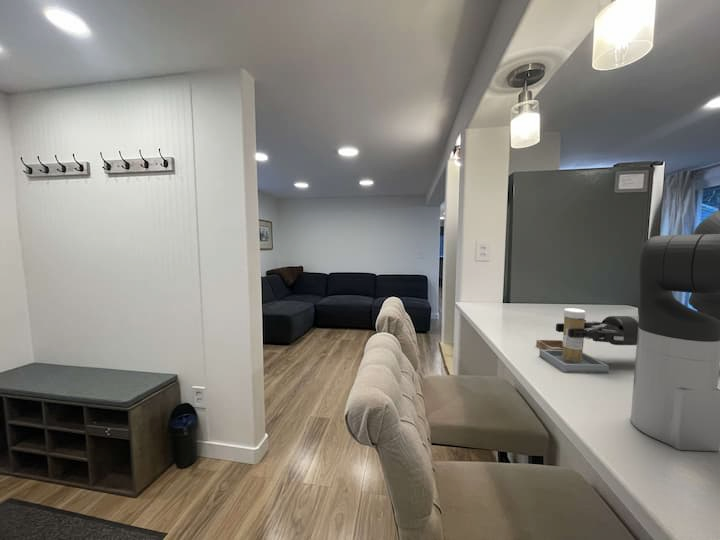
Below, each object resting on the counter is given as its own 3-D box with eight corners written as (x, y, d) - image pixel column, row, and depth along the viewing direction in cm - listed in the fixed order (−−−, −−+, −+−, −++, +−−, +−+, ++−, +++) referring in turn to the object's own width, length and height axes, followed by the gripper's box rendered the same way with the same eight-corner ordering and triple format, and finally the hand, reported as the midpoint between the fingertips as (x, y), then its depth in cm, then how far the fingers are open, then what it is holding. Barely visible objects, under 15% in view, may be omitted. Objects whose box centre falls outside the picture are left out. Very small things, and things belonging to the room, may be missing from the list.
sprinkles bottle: (564, 354, 79) (566, 306, 78) (585, 359, 75) (587, 309, 74) (559, 358, 76) (561, 309, 75) (580, 364, 72) (582, 312, 71)
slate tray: (608, 373, 70) (608, 365, 70) (564, 372, 71) (564, 364, 70) (577, 356, 81) (578, 350, 80) (539, 356, 81) (539, 349, 81)
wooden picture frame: (579, 355, 81) (579, 349, 81) (551, 355, 82) (552, 348, 82) (561, 346, 89) (561, 340, 89) (536, 346, 90) (536, 339, 89)
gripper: (608, 310, 81) (546, 310, 82) (658, 323, 67) (583, 323, 68) (606, 336, 82) (545, 335, 82) (655, 354, 67) (581, 354, 68)
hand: (562, 330), depth 75 cm, fingers closed on sprinkles bottle, 4 cm apart
